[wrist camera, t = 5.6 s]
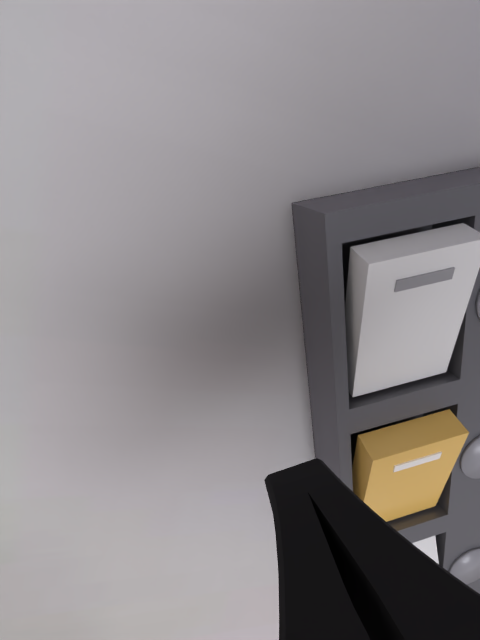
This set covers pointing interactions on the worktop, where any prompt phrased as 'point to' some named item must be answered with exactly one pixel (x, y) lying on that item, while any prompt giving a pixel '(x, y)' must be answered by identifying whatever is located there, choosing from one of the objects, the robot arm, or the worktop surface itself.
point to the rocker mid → (407, 463)
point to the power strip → (409, 398)
